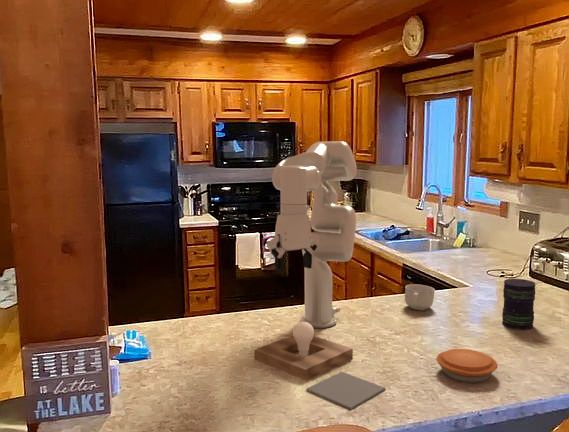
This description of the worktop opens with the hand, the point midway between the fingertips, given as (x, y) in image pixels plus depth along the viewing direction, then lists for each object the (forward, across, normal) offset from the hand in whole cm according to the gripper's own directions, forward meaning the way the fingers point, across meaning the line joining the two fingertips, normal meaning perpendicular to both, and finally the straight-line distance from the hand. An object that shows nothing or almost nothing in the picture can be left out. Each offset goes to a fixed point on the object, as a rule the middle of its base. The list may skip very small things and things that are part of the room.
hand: (293, 269), depth 150 cm
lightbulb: (+26, -2, +3) cm, 26 cm away
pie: (+26, -32, +35) cm, 54 cm away
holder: (+26, -2, +3) cm, 26 cm away
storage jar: (+24, -78, +20) cm, 84 cm away
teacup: (+24, -64, -12) cm, 69 cm away
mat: (+26, +1, +25) cm, 36 cm away
